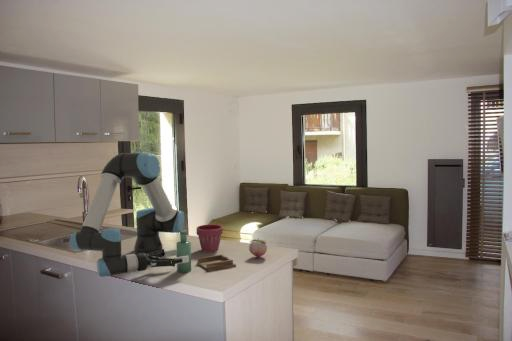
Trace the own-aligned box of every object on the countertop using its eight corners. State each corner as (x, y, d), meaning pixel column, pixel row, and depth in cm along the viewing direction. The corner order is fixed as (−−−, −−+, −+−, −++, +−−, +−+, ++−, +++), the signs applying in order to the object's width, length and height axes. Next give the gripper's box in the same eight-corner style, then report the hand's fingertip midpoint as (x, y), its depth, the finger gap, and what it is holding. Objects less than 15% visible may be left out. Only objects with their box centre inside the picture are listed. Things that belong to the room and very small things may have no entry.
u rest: (196, 263, 195) (196, 257, 195) (223, 259, 202) (223, 253, 202) (208, 271, 183) (208, 265, 183) (235, 266, 190) (235, 260, 190)
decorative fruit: (269, 255, 208) (269, 236, 208) (265, 260, 200) (265, 240, 200) (251, 254, 211) (251, 235, 210) (247, 258, 203) (247, 239, 202)
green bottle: (175, 270, 186) (174, 230, 185) (188, 267, 189) (187, 229, 188) (179, 273, 180) (179, 232, 180) (193, 271, 184) (192, 231, 183)
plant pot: (210, 254, 212) (209, 230, 211) (191, 250, 220) (191, 227, 219) (228, 249, 223) (227, 226, 222) (209, 245, 231) (209, 223, 231)
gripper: (129, 263, 184) (174, 257, 195) (143, 279, 163) (193, 270, 173) (129, 247, 184) (174, 241, 194) (143, 260, 162) (193, 253, 173)
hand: (183, 255), depth 184 cm, fingers open, 13 cm apart
